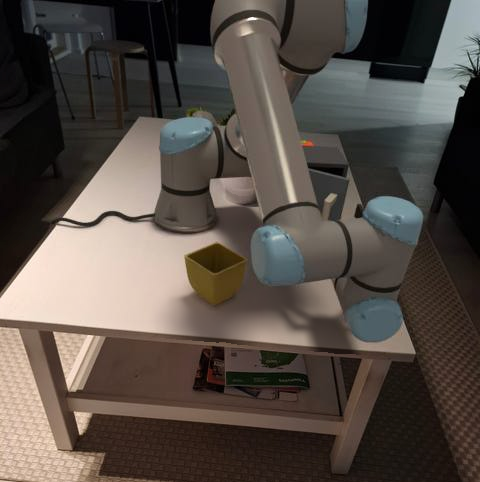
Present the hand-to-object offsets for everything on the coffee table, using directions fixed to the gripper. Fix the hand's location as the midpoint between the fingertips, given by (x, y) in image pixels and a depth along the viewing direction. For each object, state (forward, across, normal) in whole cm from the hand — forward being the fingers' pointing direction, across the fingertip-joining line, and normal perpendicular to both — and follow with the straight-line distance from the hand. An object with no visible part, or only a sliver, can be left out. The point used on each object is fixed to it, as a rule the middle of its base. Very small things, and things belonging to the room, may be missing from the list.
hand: (324, 208), depth 94 cm
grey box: (+29, +3, -16) cm, 33 cm away
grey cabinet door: (+16, 0, -15) cm, 22 cm away
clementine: (+67, +10, -16) cm, 69 cm away
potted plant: (+80, -25, -16) cm, 85 cm away
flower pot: (-9, -22, -16) cm, 28 cm away
